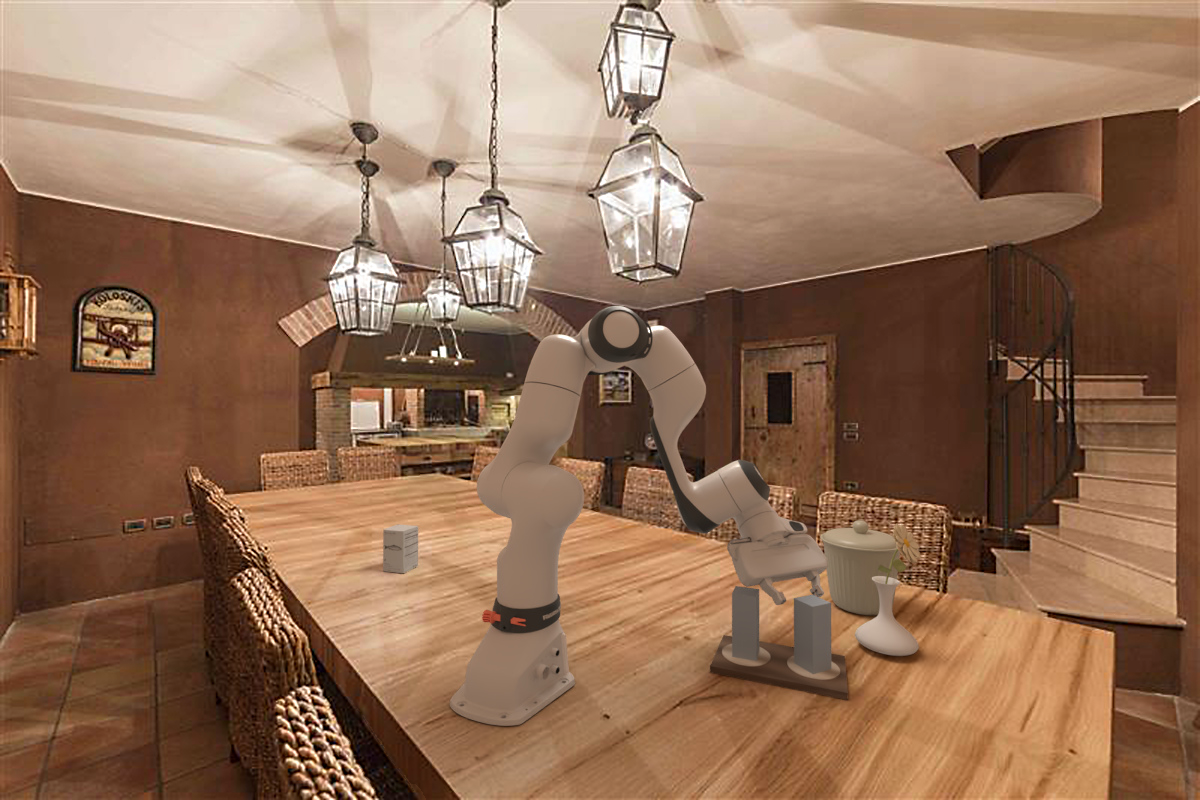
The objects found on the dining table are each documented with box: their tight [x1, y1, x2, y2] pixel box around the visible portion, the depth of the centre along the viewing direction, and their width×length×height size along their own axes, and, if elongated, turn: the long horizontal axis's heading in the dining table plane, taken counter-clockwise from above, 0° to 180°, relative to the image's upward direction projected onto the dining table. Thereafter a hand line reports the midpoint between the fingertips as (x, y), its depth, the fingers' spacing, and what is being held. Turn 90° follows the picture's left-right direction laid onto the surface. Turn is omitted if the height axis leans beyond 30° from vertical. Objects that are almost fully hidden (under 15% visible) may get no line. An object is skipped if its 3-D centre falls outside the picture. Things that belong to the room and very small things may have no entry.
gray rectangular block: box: [793, 594, 832, 674], centre depth 96 cm, size 4×4×12 cm
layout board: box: [709, 634, 849, 701], centre depth 99 cm, size 14×23×1 cm, turn 67°
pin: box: [731, 585, 760, 661], centre depth 101 cm, size 4×4×12 cm
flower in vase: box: [854, 523, 921, 657], centre depth 106 cm, size 13×11×25 cm
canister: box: [819, 519, 901, 616], centre depth 127 cm, size 18×18×21 cm
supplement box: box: [382, 523, 419, 574], centre depth 157 cm, size 7×7×13 cm
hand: (801, 599), depth 99 cm, fingers open, 8 cm apart
